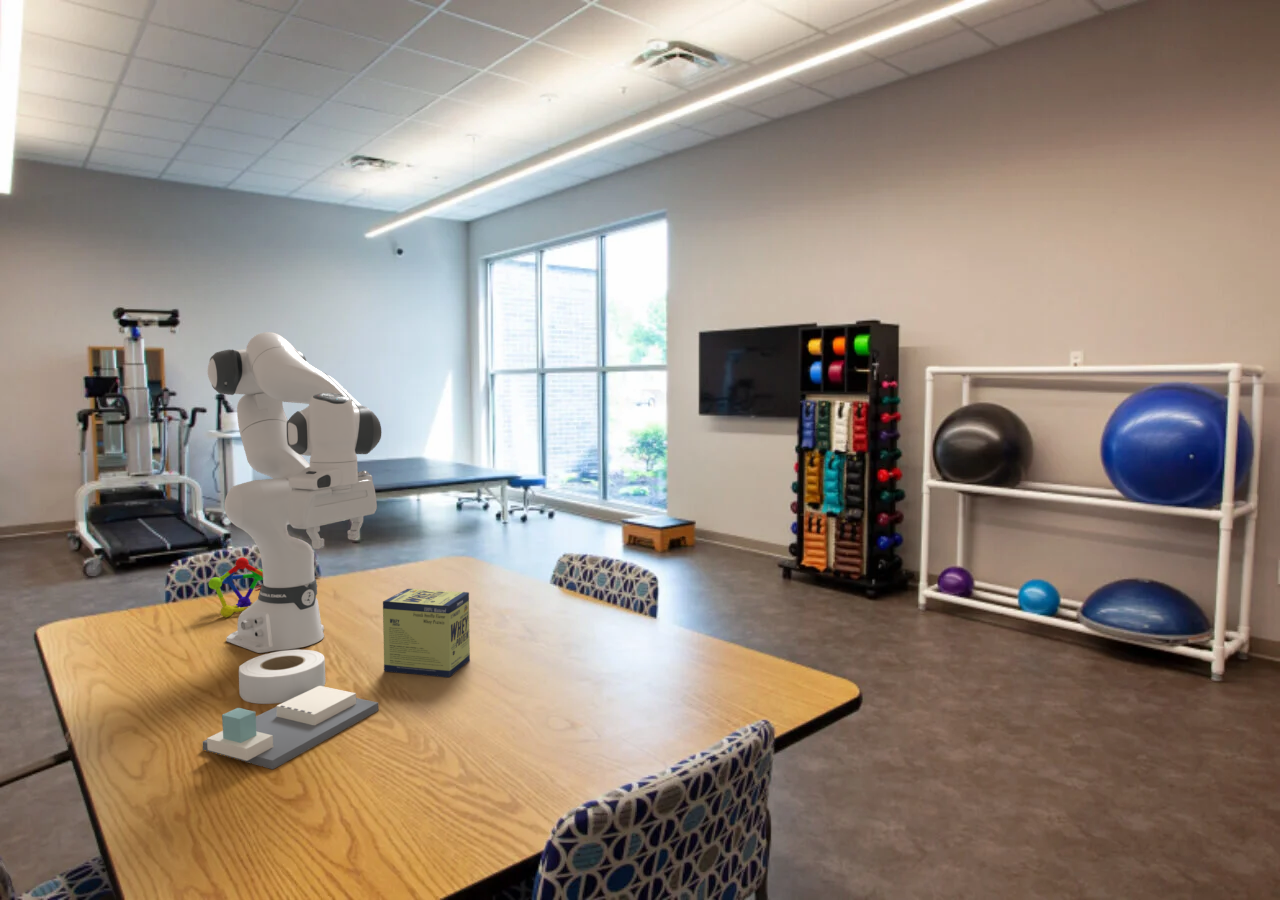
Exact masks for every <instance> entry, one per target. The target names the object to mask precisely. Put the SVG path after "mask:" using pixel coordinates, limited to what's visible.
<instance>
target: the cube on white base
mask: <svg viewBox="0 0 1280 900" xmlns="http://www.w3.org/2000/svg"><path fill="white" fill-rule="evenodd" d="M256 713H257V712H256V711H255V710H250V709H249V710H248V709H245V708H241V707H236V708H235V709H232V710H229V711H228V712H225V713H223V714H221V717H222V718H221V719H222V721H221V722H222V730H221V731H218V732H217V733H215V734H212V735H211V736H209V737H207V738H206V740H207V748H208V750H210V751H213V752H217V753H221V754H224V755H228V756H231V757H235V758H239V759H242V760H246V761H248V760H250V759H251V758H253V757H255V756H257V755H259V754H261V753H263V752H265V751H267V750H269V749H270V748H272V747H273V735H269V734H265V733H261V732H257V731H256V716H257V715H256Z"/></svg>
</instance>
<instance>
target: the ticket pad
mask: <svg viewBox="0 0 1280 900" xmlns="http://www.w3.org/2000/svg"><path fill="white" fill-rule="evenodd" d="M356 698H357V693H356V692H352V691H351V692H350V691H347V690H342V689H337V688H332V687H328V686H325V685H324V686H318V687H315V688H313V689H311V690H309V691H307V692H305V693H303V694H301V695H298V696H296V697H294V698H292V699H290V700H288V701H286V702H283V703H278V704H277V705H276V706H275V707H277V717H281V718H285V719H289V720H294V721H298V722H302V723H306V724H310V725H314V726H315V725H317V724H318V723H320V722H322V721H324V720H326V719H328V718H330V717H332V716H334V715H335V714H337V713H339V712H341V711H343V710H345V709H347V708H349V707H351V706H353V705H354V704H356Z"/></svg>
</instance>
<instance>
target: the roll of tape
mask: <svg viewBox="0 0 1280 900" xmlns="http://www.w3.org/2000/svg"><path fill="white" fill-rule="evenodd" d="M325 659H326V658H325V656H324V654H323V653H321V652H319V651H317V650H311V649H288V650H277V651H272V652H270V653H268V652H267V653H265V654H261V655H258V656H255V657H253V658H250V659H248V660H247V661H244V663H242V664H241V665H239V666H238V685H239V686H238V687H239V688H238V690H239V696H240V698H241V699H242V700H243V701H244V702H247V703H250V704H251V703H252V704H259V705H261V704H262V705H271V704H273V705H275V704H281V703H284V702H286V701H288V700H290V699H292V698H294V697H296V696H298V695H301V694H303V693H305V692H307V691H309V690H311V689H313V688H315V687H318V686H324V687H325V685H326V660H325Z"/></svg>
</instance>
